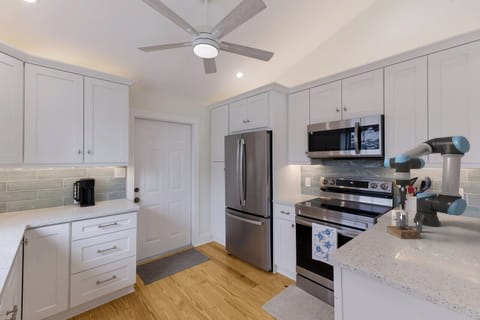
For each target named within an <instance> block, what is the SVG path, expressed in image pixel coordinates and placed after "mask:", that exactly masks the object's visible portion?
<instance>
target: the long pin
mask: <svg viewBox="0 0 480 320" xmlns="http://www.w3.org/2000/svg"><path fill="white" fill-rule="evenodd" d="M399 214H400V213H399ZM400 229H401V230H406V216H405V215H400Z"/></svg>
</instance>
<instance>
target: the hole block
mask: <svg viewBox="0 0 480 320" xmlns="http://www.w3.org/2000/svg"><path fill="white" fill-rule="evenodd" d="M386 233H388V234H390V235H392V236H395V237H396V238H399V239H402V240H405V239H406V240H407V239H410V240H416V239H417V240H419V239H418V238H420V239H421V232H419V231H416V229H414V228H411V227H409V226H408V227H406V230H401V229H400V226H392V225H386Z"/></svg>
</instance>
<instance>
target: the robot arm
mask: <svg viewBox="0 0 480 320" xmlns="http://www.w3.org/2000/svg"><path fill="white" fill-rule="evenodd" d="M470 149H471V144H470V142H469V139H468V138H467V137H465V136H463V135H452V136H443V137H442V136H441V137H434V138H431V139H428V140H426V141H423V142H421V143H419V144H418V145H417V146H416V147H414V148H411V149H409V150H407V151H405V152H404V153H401V154H396V155H395V156H394V157H388V158H386V159H384V163H383V164H384V167H385V168H386V169H391V170H392V169H395V173H394V174H393V175H394V176H395V186H400V187H398V192H399V202H398V204H399V210H400V215H406V211H407V201H408V198H407V194H408V193H407V192H408V188H407V187H410V186H411V182H412V181H411V178H412V177H411V176H412V175H411V170H421V169H423V168H425V165H426V162H425V160H424V159H423V158H421V157H423V156H428V155H432V154H440V156H441V157H442V158H443V160H442V176H441V177H442V179H441V190H440V191H439V192H438V194H437V193H435V192H422V193H421V192H419V193H417V194H416V198H415V199H416V207H415V208H416V212H415V215H414V218H413V223H415V224H416V221H422V226H425V227H441V222H440V219H439V216H438V213H441V214H446V215H449V216H461V215H462V214H464V213H465V211H466V209H467V207H468V204H467V200H465V199H464V198H463V195H461V193H460V184H461V183H460V182H461V181H460V180H461V179H460V178H461V163H462V158H464V157H465V155H466V154H467V153H469V151H470Z"/></svg>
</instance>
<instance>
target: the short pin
mask: <svg viewBox="0 0 480 320" xmlns="http://www.w3.org/2000/svg"><path fill="white" fill-rule="evenodd" d="M415 230H416V231H419V232H420V233H423V225H422V221H416V223H415Z"/></svg>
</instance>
